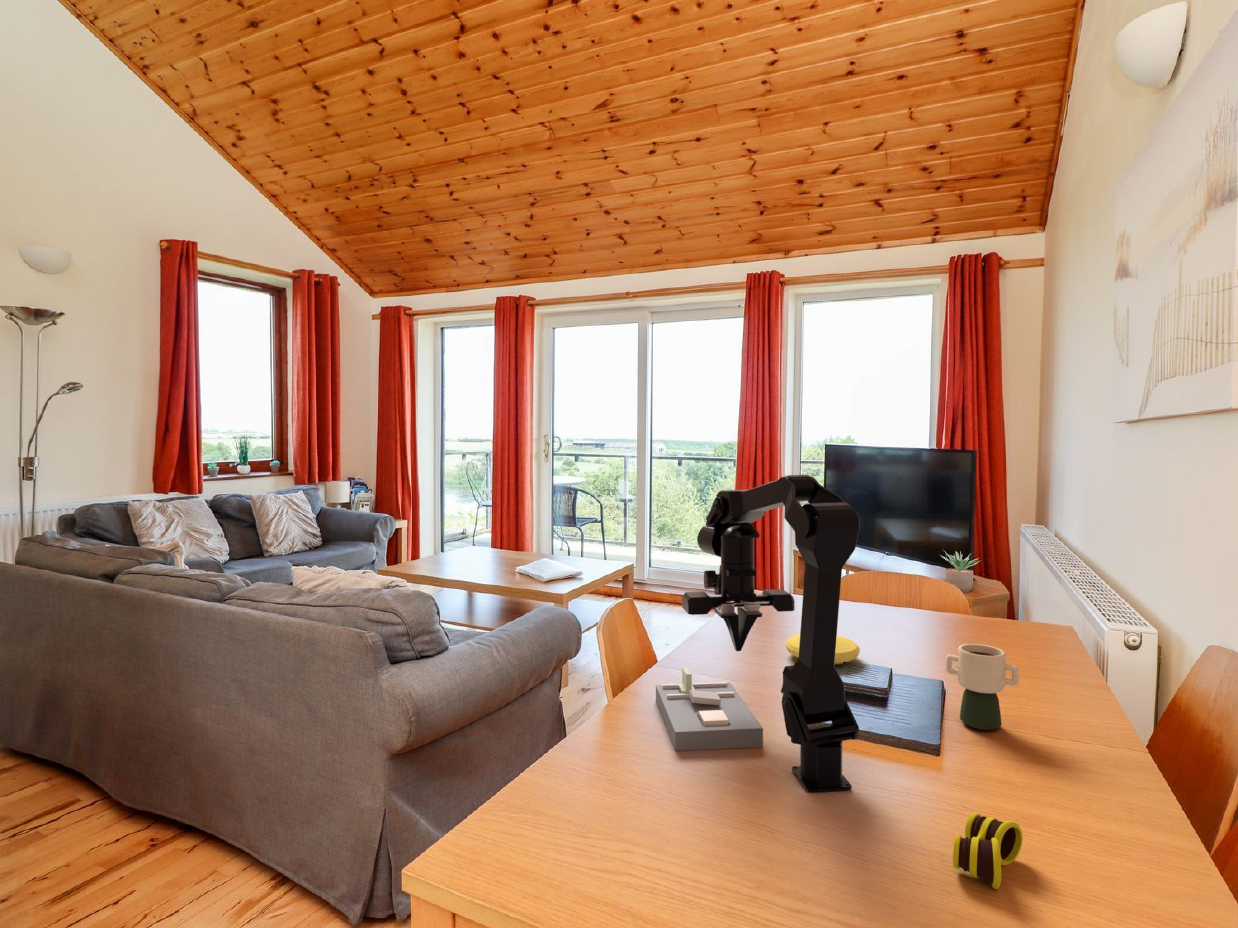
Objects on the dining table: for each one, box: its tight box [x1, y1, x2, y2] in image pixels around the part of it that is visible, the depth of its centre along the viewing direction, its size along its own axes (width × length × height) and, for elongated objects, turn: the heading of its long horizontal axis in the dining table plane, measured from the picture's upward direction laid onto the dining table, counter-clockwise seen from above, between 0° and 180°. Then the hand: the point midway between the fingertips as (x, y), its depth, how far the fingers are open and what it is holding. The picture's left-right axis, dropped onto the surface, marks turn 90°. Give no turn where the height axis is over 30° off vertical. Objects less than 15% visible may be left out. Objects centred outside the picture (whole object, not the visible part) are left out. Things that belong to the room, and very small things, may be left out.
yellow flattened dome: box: [785, 633, 861, 666], centre depth 149 cm, size 16×16×7 cm
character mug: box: [945, 643, 1020, 730], centre depth 115 cm, size 11×7×13 cm, turn 54°
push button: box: [699, 710, 729, 726], centre depth 110 cm, size 4×4×3 cm
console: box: [655, 681, 764, 752], centre depth 116 cm, size 20×14×4 cm
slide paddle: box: [677, 667, 695, 694], centre depth 122 cm, size 4×2×4 cm, turn 6°
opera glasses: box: [952, 812, 1024, 890], centre depth 77 cm, size 10×5×5 cm, turn 137°
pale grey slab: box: [689, 690, 721, 705], centre depth 117 cm, size 3×5×1 cm
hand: (737, 650), depth 119 cm, fingers closed
